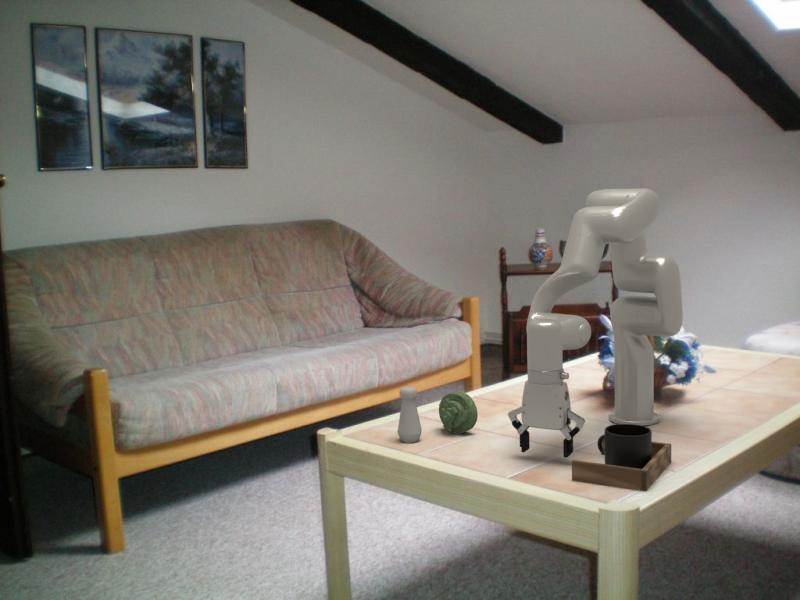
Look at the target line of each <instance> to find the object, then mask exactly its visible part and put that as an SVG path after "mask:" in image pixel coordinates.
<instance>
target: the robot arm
mask: <svg viewBox="0 0 800 600" xmlns="http://www.w3.org/2000/svg"><path fill="white" fill-rule="evenodd" d="M585 201H586V202H585V203H586V206H585V207H583V208H580V209H579V210H577V211H576V212H575V214H574V215H573V219H572V221H571V225H570V228H569V229H570V230H569V233H568V236H567V241H566V244H565V248H564V252H563V255H562V260H561V264H560V266H559V267H558V269H557V270H556V271H554V273H553V274H551V275H550V276H549V277H548V278H547V279H546V280H545V281H544V282H543V284H542V285H540V287H539V288H538V290H537V291H536V292H535V295H533V299H532V301H531V304H530V307H529V308H530V310H529V312H528V316H527V319H526V321H527V322H526V348H527V350H526V355H527V356H526V357H527V358H526V359H527V361H526V363H527V380H526V381H525V382H524V385H523V386H524V387H523V393H522V398H521V399H522V401H521V406H519V407H517V408H516V409H512V410H511V411H509V412H508V413H507V416H508V418H509V420H510V422H511V424H512V426H513V428H514V429H515V430H516V433H517V434H519V447H520V448H521V450H520V451H521V452H522V453H525V452H526V451H528V450H529V449H530V448H531V447H530V446H531V445H530V443H531V442H530V432H529V431H528V429H530V428H534V429H541V430H542V429H543V430H553V431H559V432H561V434H562V435H563V437H564V439H563V441H562V443H563V445H562V446H563V447H562V448H563V450H562V451H563V452H562V453H563V457H564V458H568V457H571V455H572V454H573V452H574V437H575V436H576V435H577V434H578V433H580V432H581V431H582V428H583V426H584V425H585V423H586V419H585V418H584V417H582V416H580V415H579V414H577V413H575V412H574V411H572V409H571V408H572V407H571V398H570V392H569V387H568V383H567V382H566V381H565V380H569V378H570V373H569V372H565V371H564V370H565V369H564V367H563V363H564V362H563V361H564V360H563V353H564V352H563V351H566V350H567V351H568V350H570V351H571V350H577V349H581V348H583V347H585V346H586V345H587V344H588V342H589V341H590V339H591V337H592V327H591V325H590V323H589V320H587V319H586V318H585V317H582V316H580V315H577V314H576V315H575V314H563V313H554V312H552V310H553V308H554V306H555V304H556V303H557V302H558V300H559V299H560V298H561V297H563V296H564V295H565V294H567V293H570V291H571V292H572V291H573V290H575V289H577V288H579V287H581V286H584V285H586V284H589V283H591V282H593V281H595V280H596V279H597V278H598V275H599V271H600V267H601V263H602V261H603V260H602V259H603V254H604V251H605V247H606V245H607V244H609V248H610V249H609V250H610V259H611V269H612V277H613V279H612V280H613V284H614V286H615V287H616V288H617V289H618V290H620V291H623V292H626V293H627V292H629V293H642V294H643V293H644V294H654V296H646V295H624V296H623V295H622V296H619V297H618V298H617V299H615V300H614V301H613V302H612V304H611V306H610V310H609V314H610V315H609V316H610V324H611V329H612V333H613V347H614V349H613V350H614V361H613V362H614V410H613V411H611V412H609V413H608V420H609V421H610V422H612V423H614V424H635V425H641V426H651V425H656V424H657V423H659V422H660V421H661V415H660V414H658V413H657V412H655V411H654V410H655V409H654V401H655V399H654V396H655V395H654V390H655V389H654V388H655V387H654V384H655V383H654V378H655V377H654V371H655V370H654V367H655V365H654V364H655V363H654V362H655V358H654V349H653V346H652V344H651V342H650V340H649V338H648V337H647V336H655V337H666V338H667V337H674V336H675V335H677V334H678V333H679V332H680V331H681V330H682V325H683V317H684V315H683V314H684V313H683V299H682V297H683V296H682V285H681V284H682V283H681V273H680V271H681V270H680V268H679V265H678V263H677V260H675V258H674V257H672V256H670V255H668V254H663V253H662V254H661V253H649V252H648V250H647V245H646V235H645V231H646V230H647V229H648V228H649V227H650V226H651V225H653V223H654V222H655V221H656V219H657V217H658V215H659V213H660V206H661V205H660V198H659V196H658V194H657V193H656V192H655V191H654V190H651V188H644V187H643V188H638V187H637V188H606V189H605V188H604V189H599V190H598V189H597V190H595V191H592V192H590V193H589V194H588V196H587V197H586V200H585ZM520 414H521V421H520V420H519V419H518V415H520ZM572 421H573V422H575V426H574V427H573V429H572V427H571V426H570V425H571V423H572Z"/></svg>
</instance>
